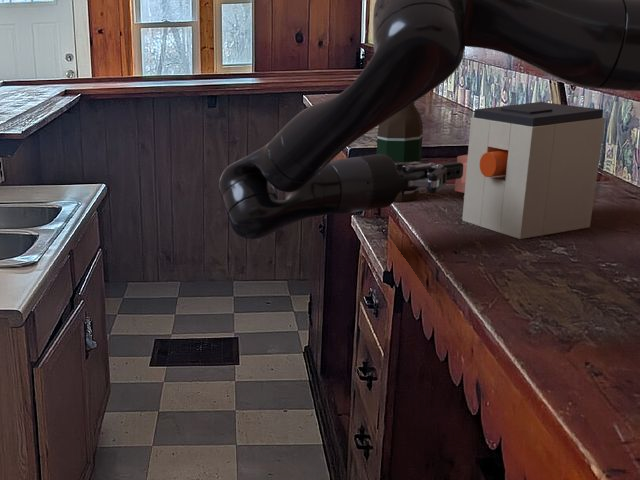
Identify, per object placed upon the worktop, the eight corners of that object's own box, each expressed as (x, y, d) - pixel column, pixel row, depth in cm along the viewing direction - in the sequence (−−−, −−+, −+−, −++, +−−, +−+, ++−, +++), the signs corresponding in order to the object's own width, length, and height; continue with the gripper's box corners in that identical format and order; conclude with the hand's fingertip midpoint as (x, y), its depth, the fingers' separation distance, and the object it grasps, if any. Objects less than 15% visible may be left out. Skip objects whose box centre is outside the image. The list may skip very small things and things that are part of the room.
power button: (500, 172, 131) (502, 147, 129) (516, 175, 128) (519, 151, 126) (478, 175, 129) (480, 150, 128) (494, 179, 126) (497, 154, 125)
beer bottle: (403, 204, 149) (411, 58, 140) (365, 199, 154) (371, 57, 145) (427, 196, 154) (437, 54, 144) (390, 191, 159) (397, 53, 150)
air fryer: (528, 210, 141) (540, 99, 134) (589, 227, 130) (607, 107, 123) (462, 220, 137) (471, 107, 130) (519, 239, 126) (533, 116, 119)
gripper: (384, 164, 113) (493, 149, 118) (332, 150, 125) (433, 137, 130) (382, 220, 116) (488, 203, 121) (331, 202, 128) (430, 187, 133)
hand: (459, 169), depth 126 cm, fingers closed
